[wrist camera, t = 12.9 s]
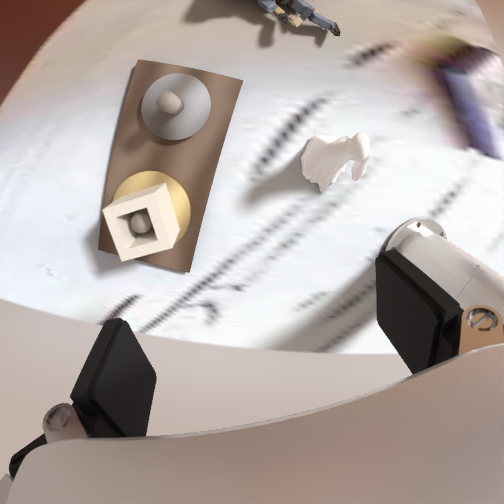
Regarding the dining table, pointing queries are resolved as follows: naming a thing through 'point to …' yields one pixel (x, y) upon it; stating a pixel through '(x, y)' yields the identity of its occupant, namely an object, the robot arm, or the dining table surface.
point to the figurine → (334, 158)
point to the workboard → (170, 149)
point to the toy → (301, 7)
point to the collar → (161, 218)
